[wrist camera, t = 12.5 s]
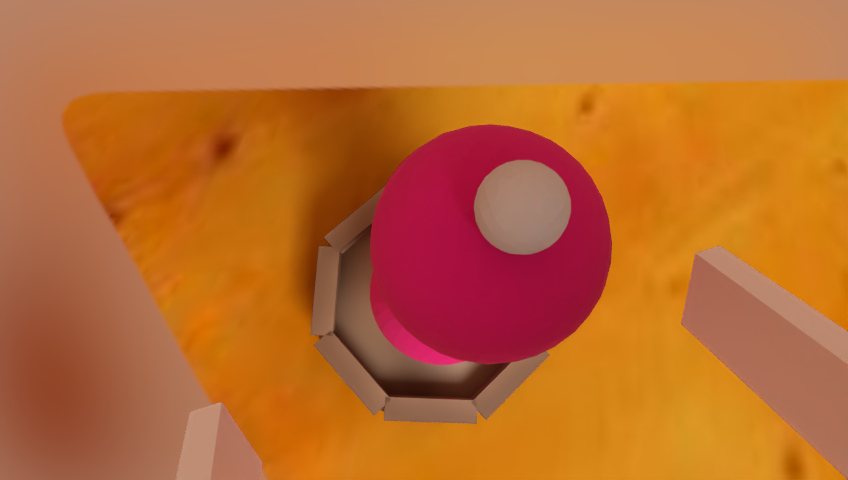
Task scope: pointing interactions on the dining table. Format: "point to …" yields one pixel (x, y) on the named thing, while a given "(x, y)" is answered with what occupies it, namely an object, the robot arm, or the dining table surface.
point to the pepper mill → (487, 248)
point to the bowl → (378, 359)
